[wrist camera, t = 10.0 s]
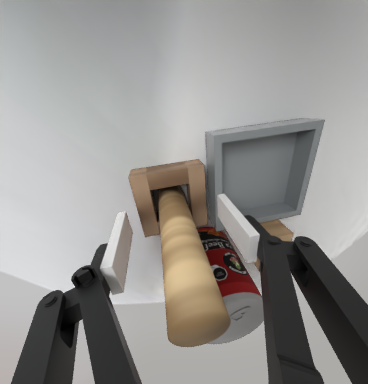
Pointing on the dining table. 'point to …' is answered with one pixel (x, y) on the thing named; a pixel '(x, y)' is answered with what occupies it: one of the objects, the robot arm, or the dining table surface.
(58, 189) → the dining table surface
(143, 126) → the dining table surface
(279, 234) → the wooden block
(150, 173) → the holder
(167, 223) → the dowel
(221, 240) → the canned food
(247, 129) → the tray
